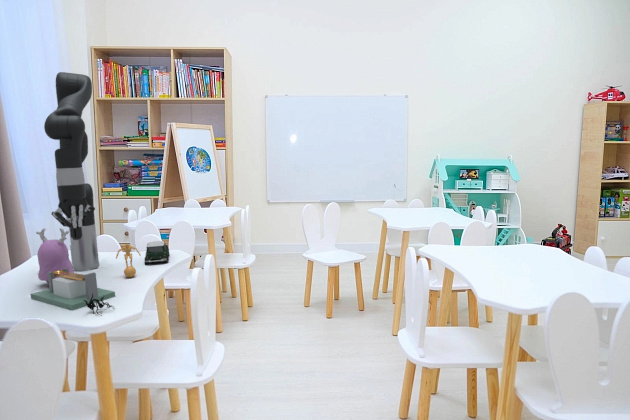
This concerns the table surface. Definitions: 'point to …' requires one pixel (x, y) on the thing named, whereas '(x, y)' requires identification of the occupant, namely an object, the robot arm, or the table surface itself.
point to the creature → (92, 305)
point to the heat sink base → (77, 300)
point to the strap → (69, 275)
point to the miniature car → (156, 252)
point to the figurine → (130, 270)
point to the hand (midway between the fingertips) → (76, 239)
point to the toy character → (53, 255)
